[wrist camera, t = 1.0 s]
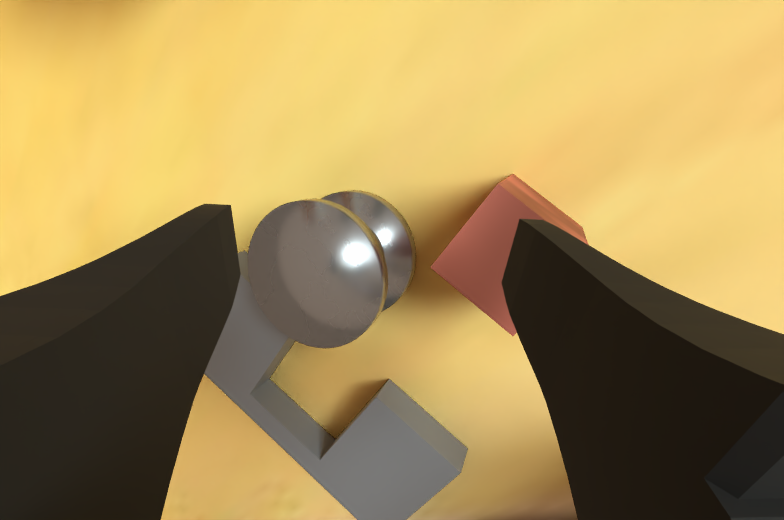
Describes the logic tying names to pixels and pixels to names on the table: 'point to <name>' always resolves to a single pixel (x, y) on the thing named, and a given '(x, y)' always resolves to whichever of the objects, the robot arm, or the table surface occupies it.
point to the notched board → (357, 441)
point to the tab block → (495, 245)
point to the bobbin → (330, 265)
